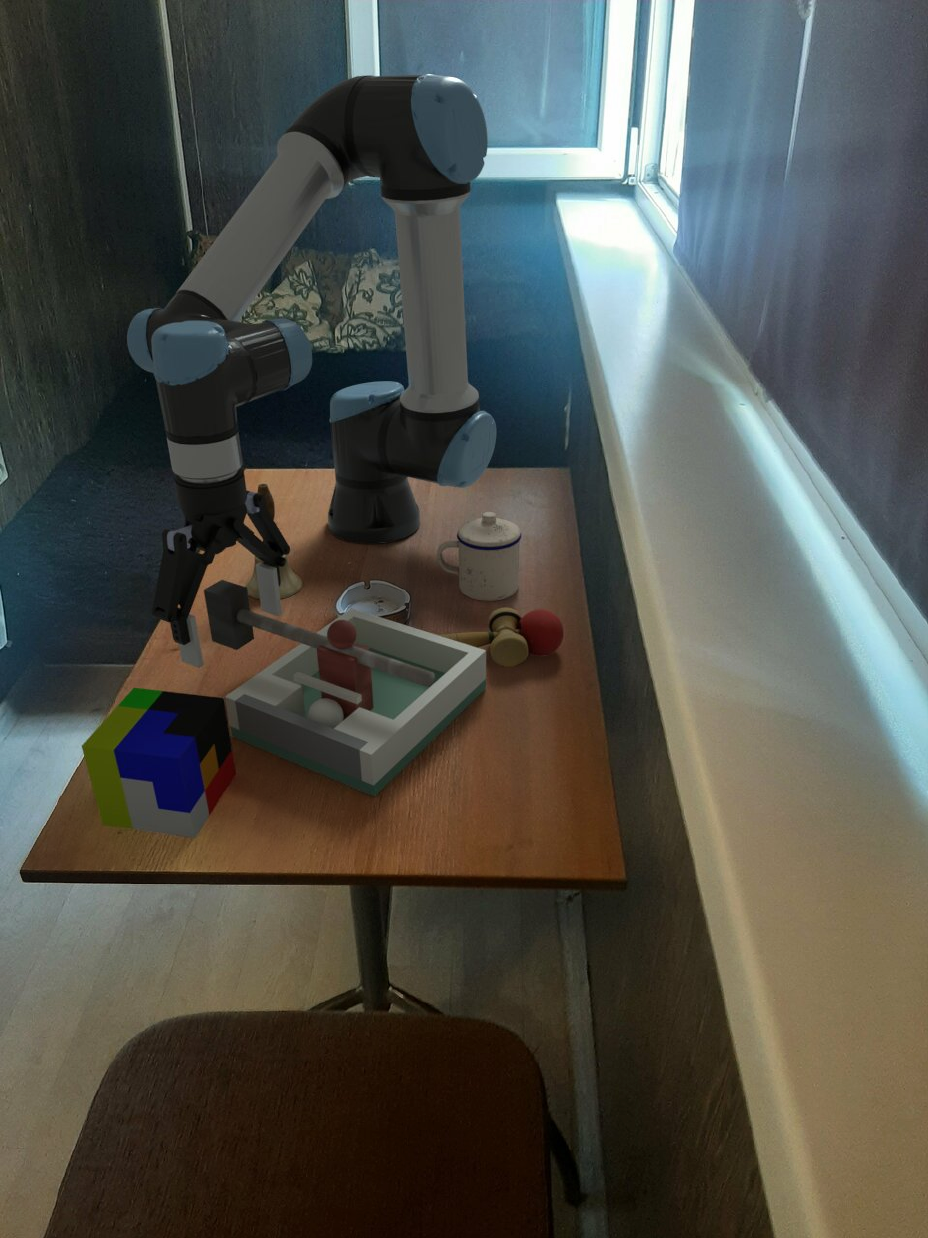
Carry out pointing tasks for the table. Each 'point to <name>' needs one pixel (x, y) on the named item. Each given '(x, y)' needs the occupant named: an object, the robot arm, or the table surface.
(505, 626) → the kendama
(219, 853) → the table surface
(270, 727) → the pitch
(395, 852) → the table surface
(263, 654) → the table surface
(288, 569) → the hand bell
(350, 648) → the striker
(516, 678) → the table surface
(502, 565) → the teacup with lid
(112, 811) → the puzzle toy
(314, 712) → the ball
